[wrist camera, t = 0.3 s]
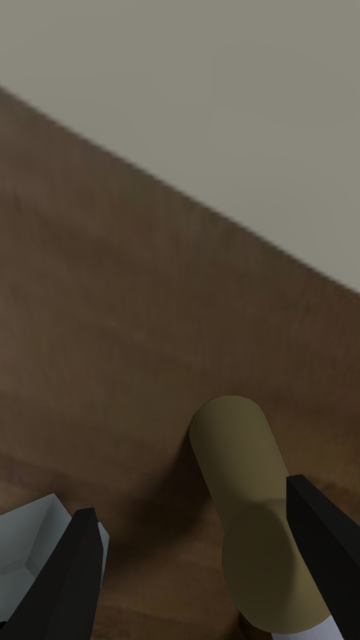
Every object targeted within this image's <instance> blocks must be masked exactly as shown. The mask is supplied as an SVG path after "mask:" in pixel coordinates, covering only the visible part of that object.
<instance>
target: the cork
mask: <svg viewBox="0 0 360 640" xmlns="http://www.w3.org/2000/svg"><path fill="white" fill-rule="evenodd" d="M189 440H190V443H191V446H192V449H193V451H194V454H195V456H196V459H197V462H198V464H199V467H200V469H201V472H202V474H203V477H204V479H205V482H206V484H207V487H208V490H209V492H210V495H211V497H212V500H213V502H214V505H215V507H216V510H217V513H218V515H219V518H220V520H221V523H222V525H223V528H224V530H225V535H224V538H223V547H222V567H223V572H224V577H225V581H226V584H227V587H228V590H229V593H230V595H231V597H232V600H233V602H234V604H235V606H236V607H237V608H238V610H239V611H240V612H241V613H242V614H243V616H244V617H245V618H246V619H247V620H248V621H249V622H250V623H251V624H252V625H253V626H255V627H257V628H259V629H261V630H263V631H266V632H270V633H276V634H283V635H284V634H294V633H299V632H302V631H306V630H309V629H311V628H313V627H315V626H317V625H318V624H320V623H322V622H323V621H324V620H326V619H327V618H328V617H329V616H330V615H331V613H330V611H329V610H328V608H327V606H326V604H325V602H324V600H323V598H322V596H321V594H320V592H319V590H318V588H317V586H316V584H315V582H314V580H313V578H312V576H311V574H310V572H309V570H308V568H307V566H306V564H305V562H304V560H303V558H302V556H301V554H300V552H299V550H298V548H297V545H296V543H295V540H294V538H293V535H292V533H291V530H290V527H289V525H288V522H287V520H286V477H288V476H289V473H288V471H287V469H286V466H285V464H284V461H283V459H282V456H281V454H280V451H279V449H278V447H277V444H276V442H275V439H274V437H273V434H272V432H271V429H270V427H269V425H268V422H267V420H266V417H265V415H264V413H263V412H262V410H261V409H260V407H259V406H258V405H257V404H256V403H254V402H253V401H251V400H250V399H248V398H244V397H241V396H222V397H219V398H216V399H213V400H211V401H209V402H208V403H206V404H205V405H203V406H202V407H201V408H200V409H199V410H198V411H197V413H196V414H195V415H194V417H193V419H192V421H191V423H190V426H189Z"/></svg>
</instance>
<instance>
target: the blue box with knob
mask: <svg viewBox="0 0 360 640" xmlns="http://www.w3.org/2000/svg"><path fill="white" fill-rule="evenodd" d="M71 519H72V518H71V516H70V515H69V513H68V512H67V511H66V509H65V508H64V506H63V505H62V504H61V502H60V501H59V499H58V498H57V497H56V495H55V494H54V493H52V494H50V495H47V496H45V497H43V498H40V499H38V500H36V501H33V502H31V503H29V504H26V505H24V506H21V507H19V508H17V509H14V510H12V511H10V512H7V513H5V514H3V515H0V622H3V621H6V622H7V621H8V620H9V618H10V617H11V615H12V614H13V612H14V611H15V609H16V608H17V606H18V605H19V603H20V602H21V600H22V599H23V597H24V596H25V594H26V593H27V591H28V590H29V588H30V587H31V585H32V584H33V582H34V581H35V579H36V578H37V576H38V574H39V573H40V571H41V570H42V568H43V566H44V565H45V563H46V561H47V560H48V558H49V557H50V555H51V553H52V552H53V550H54V548H55V547H56V545H57V543H58V541H59V540H60V538H61V536H62V535H63V533H64V531H65V529H66V528H67V526H68V524H69V522H70V520H71ZM98 526H99V531H100V535H101V539H102V544H103V548H104V553H103V564H102V574H101V584H100V588H102V584H103V577H104V570H105V563H106V557H107V550H108V543H109V535H108V533H107V532H106V530H105V529H104V527H103V526H102V524H101V523H100V522H98Z"/></svg>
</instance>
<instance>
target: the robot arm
mask: <svg viewBox="0 0 360 640" xmlns="http://www.w3.org/2000/svg"><path fill="white" fill-rule="evenodd" d="M286 520H287V522H288V525H289V527H290V530H291V533H292V535H293V538H294V540H295V543H296V545H297V548H298V550H299V552H300V554H301V556H302V558H303V560H304V562H305V564H306V566H307V568H308V570H309V572H310V574H311V576H312V578H313V580H314V582H315V584H316V586H317V588H318V590H319V592H320V594H321V596H322V598H323V600H324V602H325V604H326V606H327V608H328V610H329V611H330V613H331V615H330V616H329V617H328V618H327V619H326V620H324V621H323V622H322V623H320V624H318V625H317V626H315V627H313V628H311V629H309V630H306V631H302V632H299V633H294V634H284V635H283V634H276V633H271V634H272V638H273V640H360V526H359V525H357V524H356V523H355V522H354V521H353V520H352V519H351V518H349V517H348V516H347V515H346V514H345V513H344V512H342V511H341V510H340V509H339V508H338V507H337V506H336V505H335V504H334V503H332V502H331V501H330V500H329V499H328V498H327V497H326V496H325V495H324V494H323V493H322V492H320V491H319V490H318V489H317V488H316V487H315V486H314V485H313V484H312V483H311V482H310V481H309V480H308V479H307V478H305V477H304V476H303V475H302V474H300V475H294V476H288V477H286ZM103 553H104V548H103V544H102V539H101V535H100V531H99V526H98V522H97V517H96V513H95V509H94V507H92V508H86V509H80V510H77V511H76V512H75V513H74V515H73V517H72V519H71V520H70V522H69V524H68V526H67V528H66V529H65V531H64V533H63V535H62V536H61V538H60V540H59V541H58V543H57V545H56V547H55V548H54V550H53V552H52V553H51V555H50V557H49V558H48V560H47V561H46V563H45V565H44V566H43V568H42V570H41V571H40V573H39V574H38V576H37V578H36V579H35V581H34V582H33V584H32V585H31V587H30V588H29V590H28V591H27V593H26V594H25V596H24V597H23V599H22V600H21V602H20V603H19V605H18V606H17V608H16V609H15V611H14V612H13V614H12V615H11V617H10V618H9V620H8V621H7V623H6V624H5V625H4V627H3V628H2V630H1V631H0V640H90V638H91V633H92V627H93V622H94V617H95V612H96V606H97V601H98V596H99V590H100V584H101V574H102V564H103Z"/></svg>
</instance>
